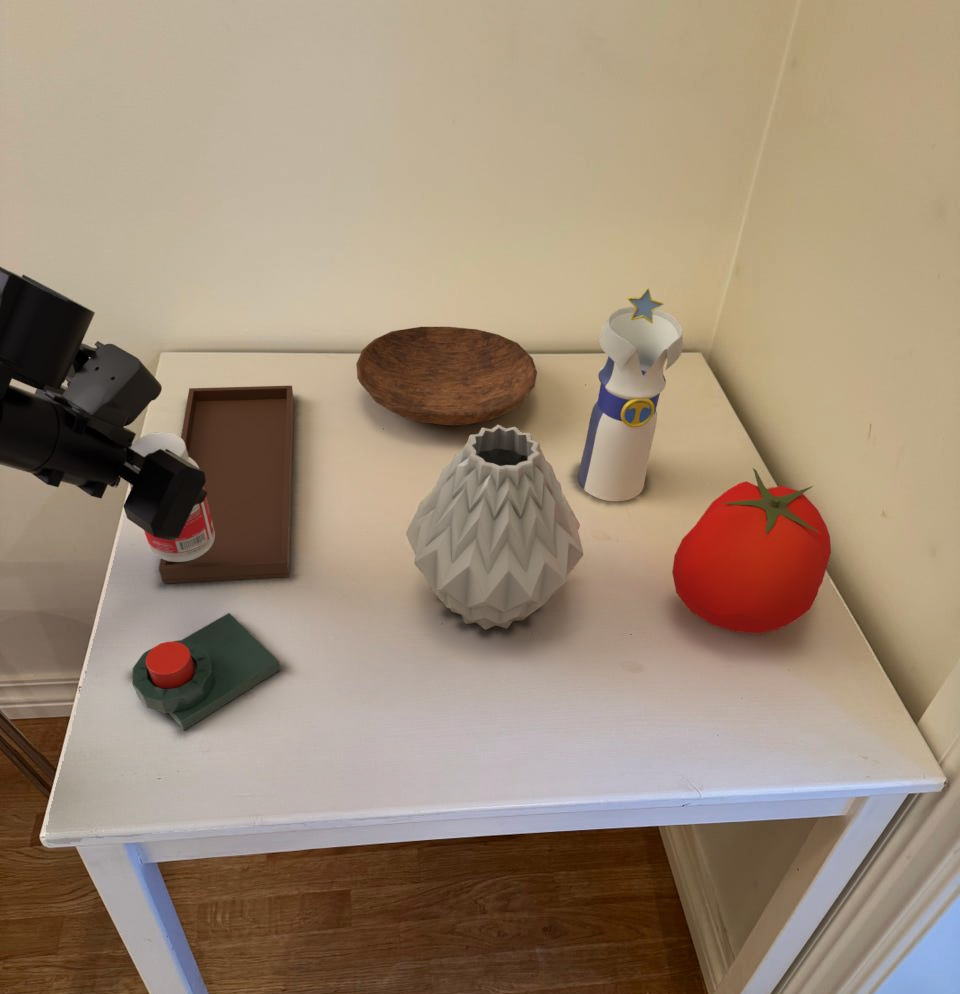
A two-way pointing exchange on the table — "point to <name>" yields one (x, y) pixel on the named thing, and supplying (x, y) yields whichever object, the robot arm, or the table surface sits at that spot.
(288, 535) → the brown rectangular tray
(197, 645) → the block
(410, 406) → the bowl
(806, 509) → the tomato
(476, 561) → the vase
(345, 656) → the table surface
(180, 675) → the button
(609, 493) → the white toy figure
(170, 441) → the pill bottle
